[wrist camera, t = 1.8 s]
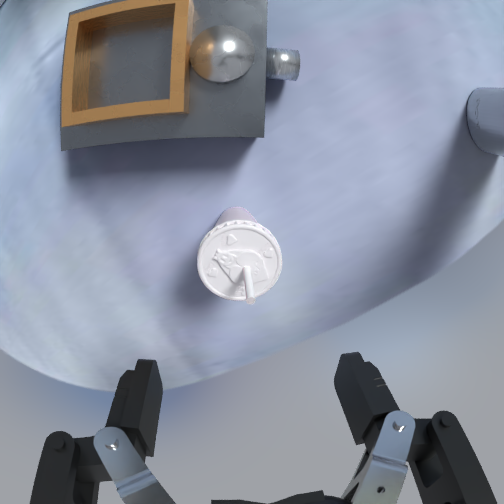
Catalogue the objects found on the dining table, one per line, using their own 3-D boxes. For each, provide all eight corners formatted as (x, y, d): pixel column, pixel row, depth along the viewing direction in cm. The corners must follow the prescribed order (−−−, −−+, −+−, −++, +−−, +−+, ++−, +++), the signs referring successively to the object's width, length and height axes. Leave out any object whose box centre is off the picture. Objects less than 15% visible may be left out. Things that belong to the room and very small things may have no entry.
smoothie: (248, 261, 32) (262, 349, 20) (194, 236, 31) (173, 315, 18) (278, 211, 30) (315, 276, 18) (222, 182, 29) (218, 228, 16)
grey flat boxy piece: (291, 11, 22) (311, -22, 14) (288, 137, 27) (310, 141, 20) (90, 25, 20) (54, 3, 13) (84, 146, 26) (43, 155, 18)
